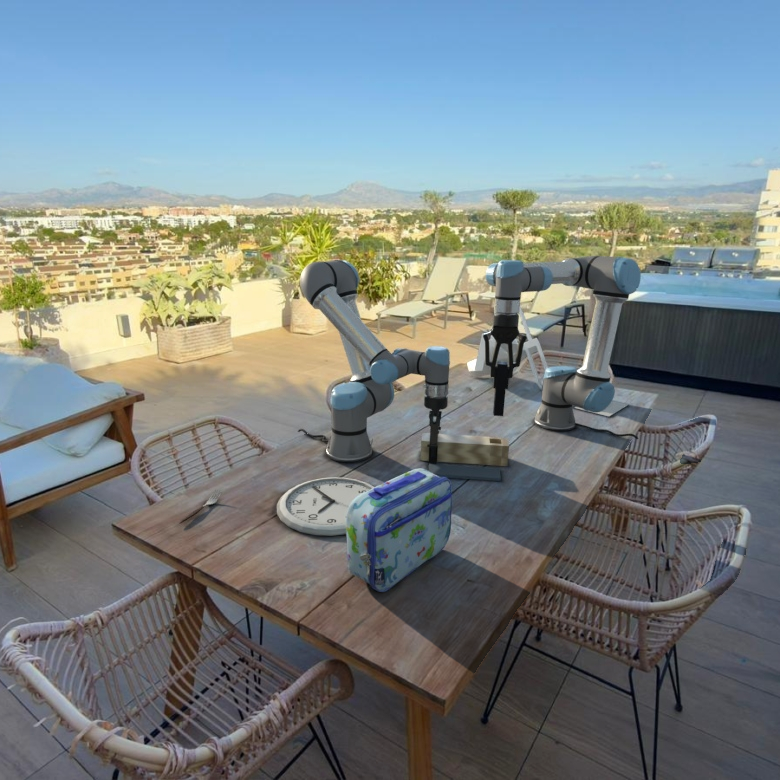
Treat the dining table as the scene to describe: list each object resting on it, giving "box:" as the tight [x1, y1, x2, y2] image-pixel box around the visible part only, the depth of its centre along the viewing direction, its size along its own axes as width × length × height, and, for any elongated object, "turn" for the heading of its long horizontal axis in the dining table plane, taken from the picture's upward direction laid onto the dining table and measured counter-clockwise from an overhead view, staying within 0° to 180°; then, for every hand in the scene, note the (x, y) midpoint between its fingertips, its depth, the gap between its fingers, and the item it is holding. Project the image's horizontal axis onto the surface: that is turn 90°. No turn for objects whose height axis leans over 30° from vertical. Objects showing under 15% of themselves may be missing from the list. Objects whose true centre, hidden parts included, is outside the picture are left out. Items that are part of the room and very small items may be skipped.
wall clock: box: [276, 476, 376, 537], centre depth 142 cm, size 30×2×30 cm
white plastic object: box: [466, 307, 549, 390], centre depth 259 cm, size 37×45×31 cm
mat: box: [428, 463, 502, 482], centre depth 162 cm, size 22×7×1 cm, turn 83°
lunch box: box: [345, 467, 453, 593], centre depth 115 cm, size 26×11×21 cm, turn 135°
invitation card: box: [573, 400, 629, 418], centre depth 226 cm, size 21×1×15 cm
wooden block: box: [420, 432, 510, 467], centre depth 172 cm, size 28×7×7 cm, turn 83°
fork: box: [178, 489, 223, 525], centre depth 139 cm, size 3×16×2 cm, turn 160°
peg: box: [492, 362, 508, 417], centre depth 165 cm, size 3×3×17 cm
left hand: (433, 456), depth 174 cm, fingers open, 12 cm apart
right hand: (500, 387), depth 164 cm, fingers closed on peg, 3 cm apart
